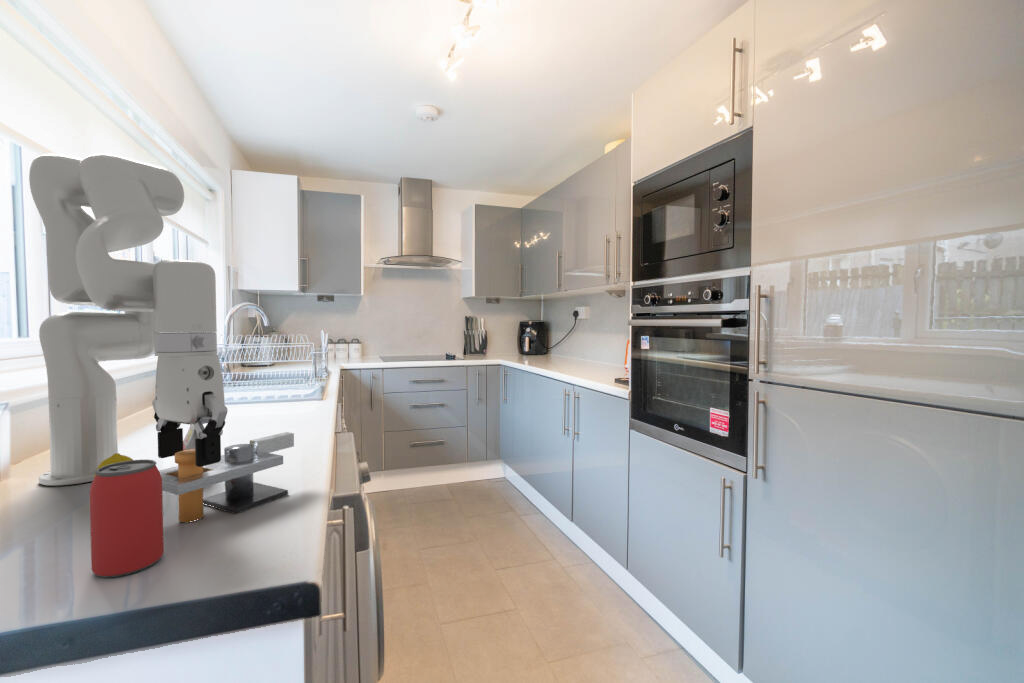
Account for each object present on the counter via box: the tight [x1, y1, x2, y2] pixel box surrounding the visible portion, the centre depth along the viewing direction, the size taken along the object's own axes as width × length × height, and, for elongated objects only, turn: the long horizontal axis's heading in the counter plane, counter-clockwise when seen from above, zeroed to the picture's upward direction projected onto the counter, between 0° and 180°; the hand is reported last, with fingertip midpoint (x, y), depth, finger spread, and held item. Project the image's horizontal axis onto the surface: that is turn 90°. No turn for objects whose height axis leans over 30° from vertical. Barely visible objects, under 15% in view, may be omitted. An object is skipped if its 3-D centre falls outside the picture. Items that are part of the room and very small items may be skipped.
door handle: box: [159, 431, 295, 515], centre depth 73 cm, size 10×21×9 cm, turn 153°
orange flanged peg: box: [174, 449, 204, 523], centre depth 68 cm, size 4×4×10 cm
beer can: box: [89, 459, 165, 578], centre depth 54 cm, size 7×7×12 cm
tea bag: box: [183, 424, 199, 451], centre depth 87 cm, size 4×7×10 cm, turn 40°
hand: (189, 459), depth 68 cm, fingers open, 9 cm apart
